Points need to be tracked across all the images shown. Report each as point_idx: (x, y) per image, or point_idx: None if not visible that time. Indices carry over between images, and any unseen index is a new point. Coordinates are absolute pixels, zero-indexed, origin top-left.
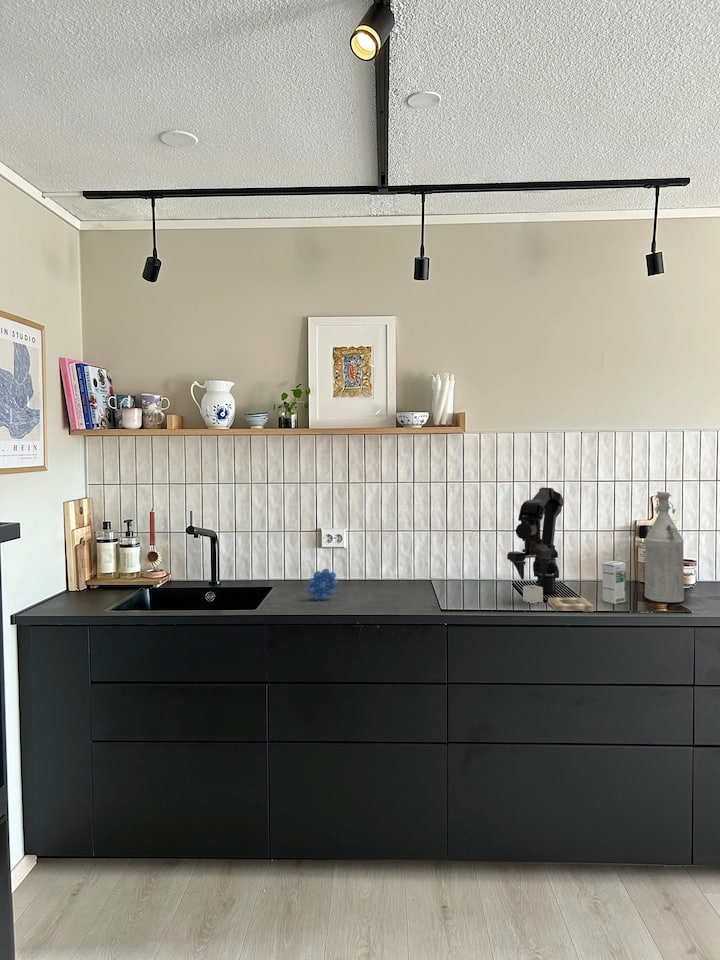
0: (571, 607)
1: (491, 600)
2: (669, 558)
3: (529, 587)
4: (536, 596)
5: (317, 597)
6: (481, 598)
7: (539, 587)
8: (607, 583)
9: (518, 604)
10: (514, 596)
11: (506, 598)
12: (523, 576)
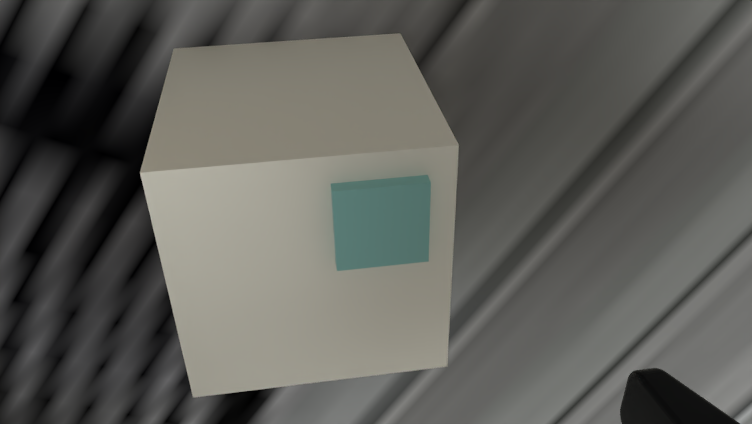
0: None
1: (706, 328)
2: None
3: (427, 242)
4: (312, 80)
5: None
6: None
7: (214, 196)
8: None
9: (604, 58)
10: (355, 412)
11: (500, 361)
12: (695, 417)
